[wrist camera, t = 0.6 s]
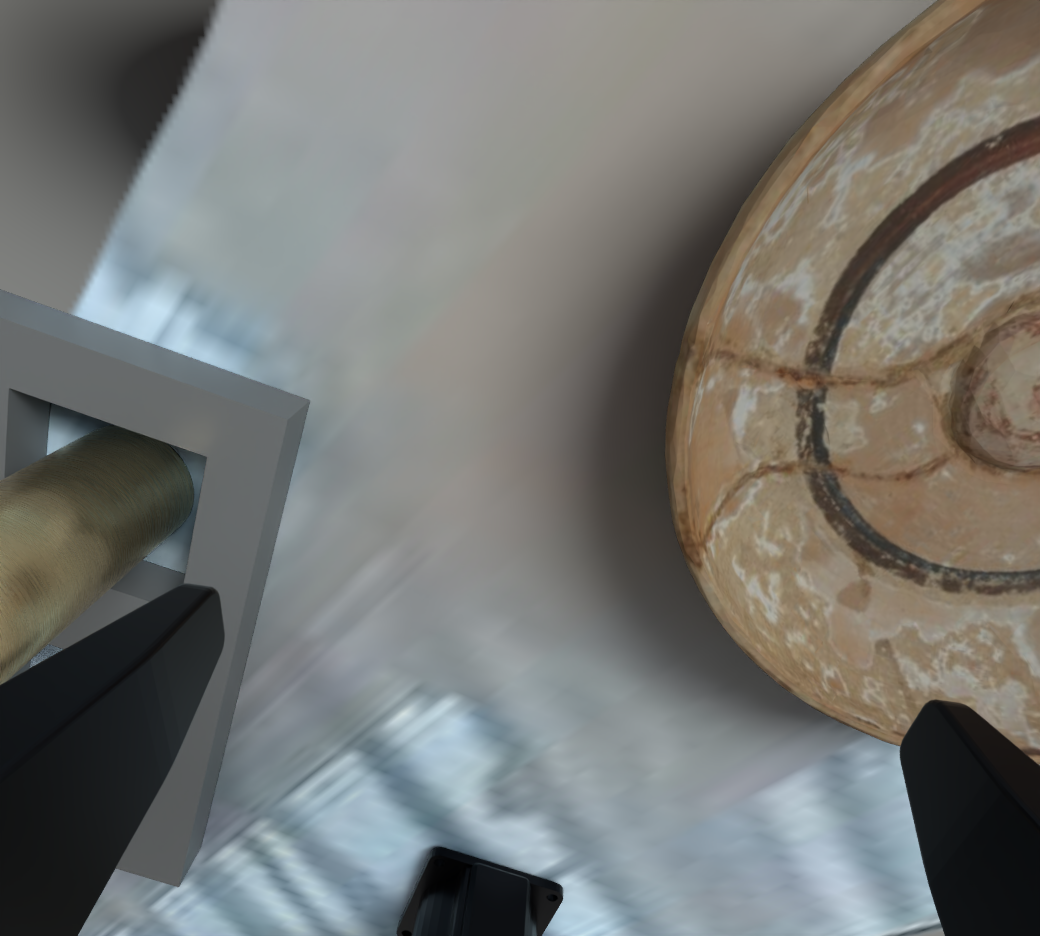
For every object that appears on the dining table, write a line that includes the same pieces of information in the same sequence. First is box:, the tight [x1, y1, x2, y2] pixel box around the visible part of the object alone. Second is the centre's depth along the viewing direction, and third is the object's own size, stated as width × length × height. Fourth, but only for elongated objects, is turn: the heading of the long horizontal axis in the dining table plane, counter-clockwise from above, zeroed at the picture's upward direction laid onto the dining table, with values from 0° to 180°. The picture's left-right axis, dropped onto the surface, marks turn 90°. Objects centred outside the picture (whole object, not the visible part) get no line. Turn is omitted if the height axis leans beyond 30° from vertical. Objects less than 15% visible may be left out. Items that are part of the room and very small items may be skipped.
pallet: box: [0, 289, 310, 887], centre depth 27 cm, size 24×11×2 cm, turn 160°
